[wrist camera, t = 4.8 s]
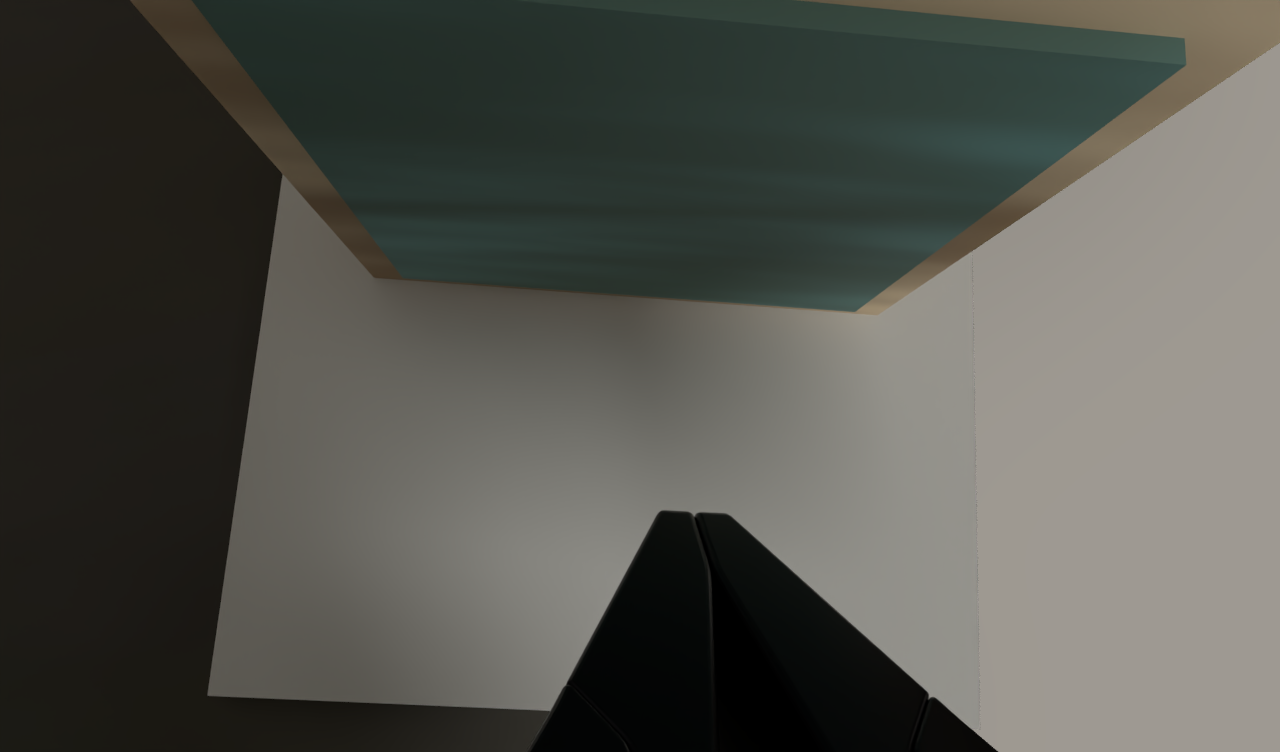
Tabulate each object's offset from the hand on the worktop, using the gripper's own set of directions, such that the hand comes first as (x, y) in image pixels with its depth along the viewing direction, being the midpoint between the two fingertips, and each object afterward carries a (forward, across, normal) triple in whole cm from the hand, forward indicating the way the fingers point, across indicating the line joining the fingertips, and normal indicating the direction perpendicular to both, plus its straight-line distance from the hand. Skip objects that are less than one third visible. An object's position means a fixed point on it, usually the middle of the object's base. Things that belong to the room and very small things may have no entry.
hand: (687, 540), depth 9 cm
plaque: (+8, 0, 0) cm, 8 cm away
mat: (+9, 0, 0) cm, 9 cm away
